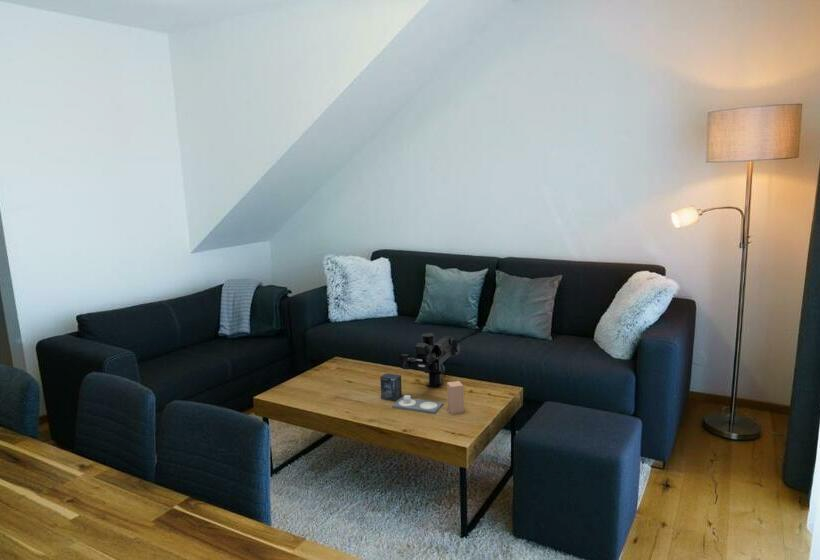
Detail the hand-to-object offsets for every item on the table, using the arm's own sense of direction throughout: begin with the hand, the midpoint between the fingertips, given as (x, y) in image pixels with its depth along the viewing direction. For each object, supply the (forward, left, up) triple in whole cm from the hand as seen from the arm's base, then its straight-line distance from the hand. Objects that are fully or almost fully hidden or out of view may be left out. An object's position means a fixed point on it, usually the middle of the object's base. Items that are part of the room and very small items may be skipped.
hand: (412, 369), depth 251 cm
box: (-4, -13, -17) cm, 22 cm away
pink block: (0, +19, -17) cm, 25 cm away
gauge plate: (+1, +2, -16) cm, 17 cm away
